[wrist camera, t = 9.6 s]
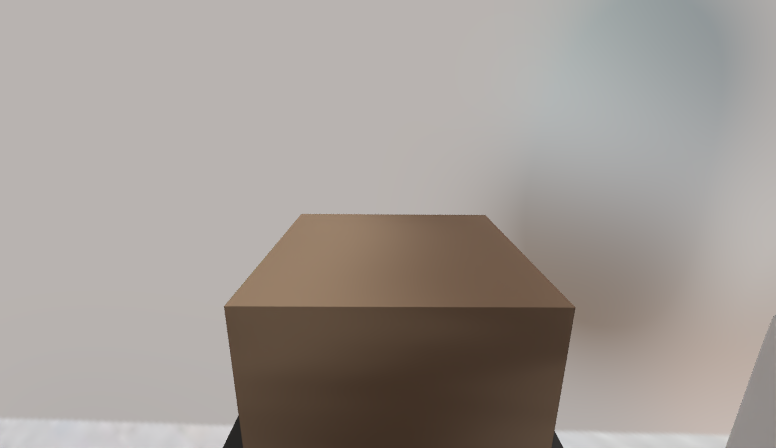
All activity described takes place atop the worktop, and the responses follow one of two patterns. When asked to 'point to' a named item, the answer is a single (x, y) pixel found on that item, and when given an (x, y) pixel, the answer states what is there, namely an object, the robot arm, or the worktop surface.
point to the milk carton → (759, 401)
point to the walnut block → (397, 337)
